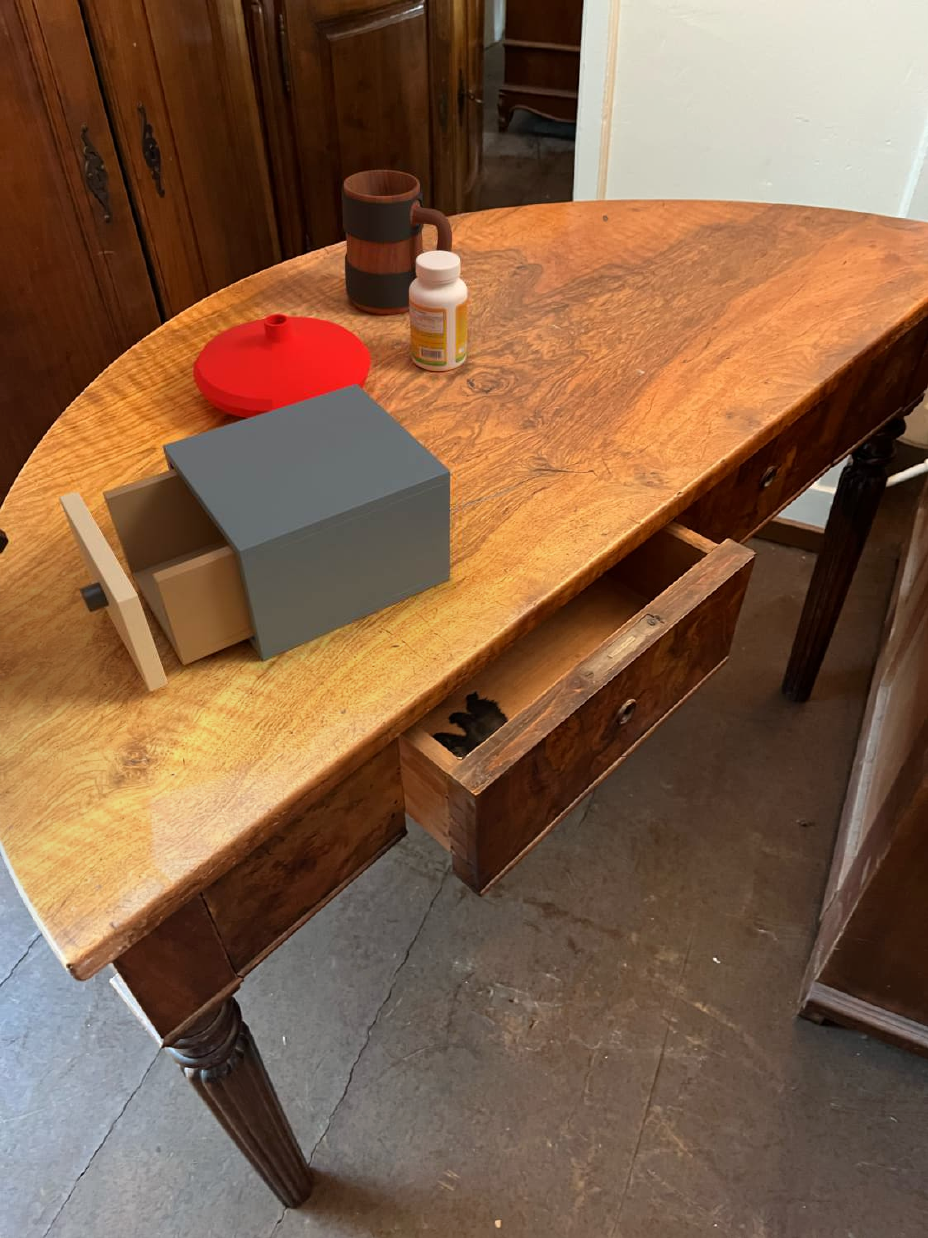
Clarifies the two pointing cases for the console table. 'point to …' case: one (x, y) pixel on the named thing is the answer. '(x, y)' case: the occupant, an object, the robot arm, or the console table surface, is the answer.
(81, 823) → the console table surface
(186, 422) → the console table surface
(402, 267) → the mug
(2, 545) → the robot arm
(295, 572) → the cabinet
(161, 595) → the drawer
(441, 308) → the supplement bottle
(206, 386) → the red squat vase
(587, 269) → the console table surface
